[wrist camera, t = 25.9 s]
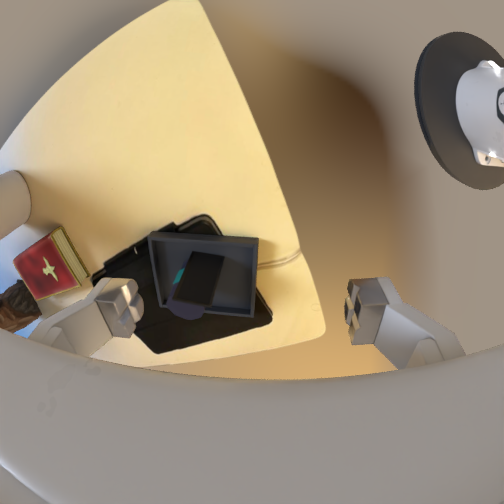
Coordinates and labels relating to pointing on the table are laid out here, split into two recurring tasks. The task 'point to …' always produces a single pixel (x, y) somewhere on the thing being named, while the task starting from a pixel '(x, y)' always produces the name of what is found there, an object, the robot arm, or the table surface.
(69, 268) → the hardcover book
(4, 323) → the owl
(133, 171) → the table surface
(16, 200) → the cylinder vase
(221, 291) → the shallow rimmed tray
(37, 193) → the table surface
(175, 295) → the speaker
